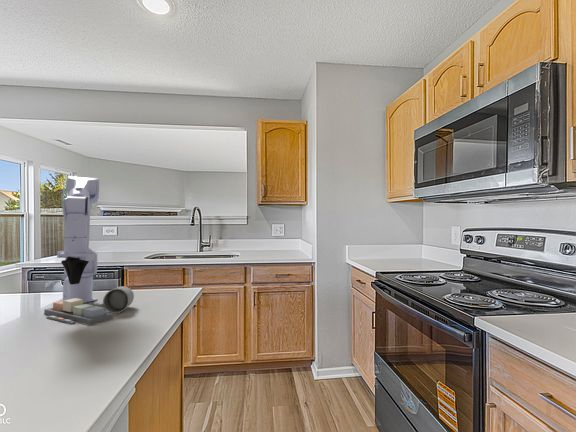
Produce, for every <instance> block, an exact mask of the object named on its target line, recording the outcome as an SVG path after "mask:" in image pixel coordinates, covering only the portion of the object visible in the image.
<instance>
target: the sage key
mask: <svg viewBox="0 0 576 432" xmlns="http://www.w3.org/2000/svg"><path fill="white" fill-rule="evenodd" d="M90 307H95V306H94V305H93V304H88V303H83V305H79V306H74V307H73V315H78V316H82V315H84V309H86V308H90Z"/></svg>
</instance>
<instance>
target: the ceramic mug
mask: <svg viewBox="0 0 576 432" xmlns="http://www.w3.org/2000/svg"><path fill="white" fill-rule="evenodd" d="M134 298H135V295H134V291H133V290H132V289H131V287H127V286H124V285H123V286H118V287H115V288H112V289H110V290H108V291H107V292H106V294H104V297H103V299H102V303H101V304H98V305H97V306H98V307H103V308H105V310H106V311H107V312H108V313H111V314H120V313H122V312H124V311H125V310H126V309H127V308H129V306H131V305H132V303H133V301H134Z"/></svg>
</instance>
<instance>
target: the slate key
mask: <svg viewBox="0 0 576 432" xmlns="http://www.w3.org/2000/svg"><path fill="white" fill-rule="evenodd" d="M105 310H106V309H105V308H103V307H98V305H95V306H94V307H90V308H86V309H84V317H86V318H91V319H92V318H96V317H100V316H103V315H104V312H106V311H105Z"/></svg>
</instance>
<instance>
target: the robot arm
mask: <svg viewBox="0 0 576 432" xmlns="http://www.w3.org/2000/svg"><path fill="white" fill-rule="evenodd" d="M65 184H66V186H65V187H66V195H67V197H64V198H63V200H62V214H63V222H64V227H63V228H64V230H63V232H64V233H63V250H58V251H56V253H57V254H56V258H60V259H64V260H61V261H60V263H61V264H62V267H63V274H64V275H65V276H66V278H65V279H64V280H63V282H62V283H63V284H62V299H59V301H63V300H68V299H73V298H78V299H83V304H87V303H90V302H95V301H98V300H99V299H98V298H96V297H93V284H94V282H93V281H94V275H97V272H98V254H97V252H96V251H94V250H93V249H92V248H90V246H89V245H90V227H91V226H90V225H91V223H90V222H91V208H92V205H93V204H95V203H98V201H99V200H98V199H99V197H100V196H99V194H100V179H99V178H98V177H84V176H83V177H82V176H71V175H69V176H68V177H66V183H65Z"/></svg>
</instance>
